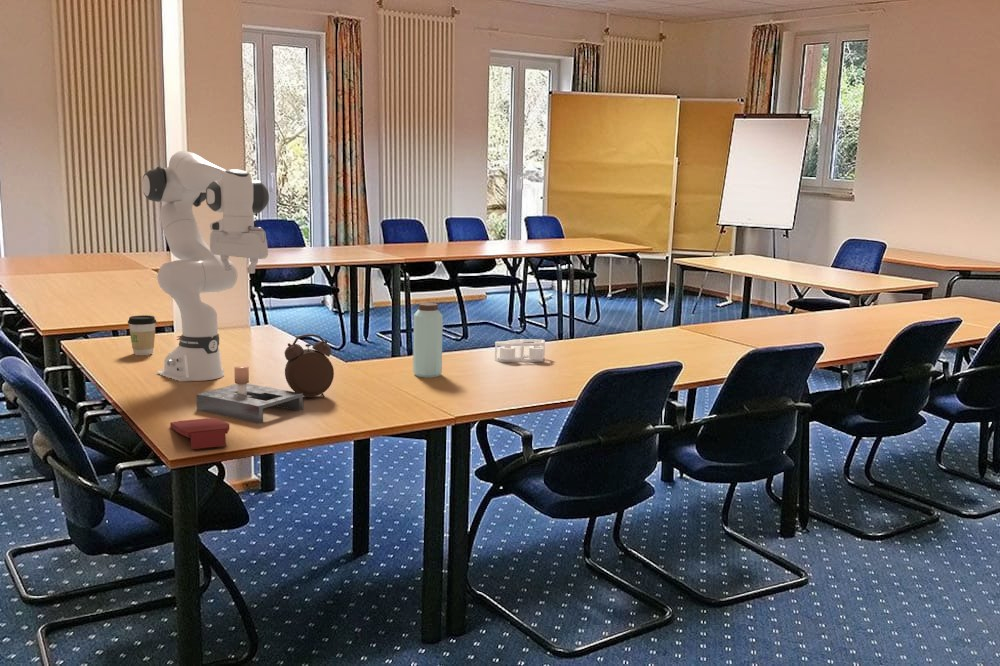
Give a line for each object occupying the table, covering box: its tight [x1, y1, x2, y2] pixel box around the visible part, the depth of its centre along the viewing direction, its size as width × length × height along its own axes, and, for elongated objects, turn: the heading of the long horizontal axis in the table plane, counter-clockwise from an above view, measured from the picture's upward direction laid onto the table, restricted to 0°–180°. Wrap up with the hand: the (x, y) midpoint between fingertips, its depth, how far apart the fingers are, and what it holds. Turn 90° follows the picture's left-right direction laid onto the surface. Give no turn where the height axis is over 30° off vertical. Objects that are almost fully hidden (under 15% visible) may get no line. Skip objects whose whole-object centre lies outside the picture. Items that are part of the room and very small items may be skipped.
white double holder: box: [494, 338, 546, 363], centre depth 351 cm, size 20×11×7 cm, turn 100°
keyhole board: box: [196, 383, 304, 425], centre depth 269 cm, size 18×24×5 cm
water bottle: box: [412, 302, 444, 379], centre depth 319 cm, size 10×10×25 cm
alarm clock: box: [284, 333, 335, 398], centre depth 284 cm, size 14×7×20 cm, turn 115°
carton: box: [169, 417, 230, 450], centre depth 243 cm, size 12×5×25 cm
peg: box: [233, 365, 250, 395], centre depth 270 cm, size 5×5×12 cm
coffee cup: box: [127, 314, 157, 356], centre depth 337 cm, size 10×10×15 cm
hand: (239, 272), depth 276 cm, fingers open, 8 cm apart
